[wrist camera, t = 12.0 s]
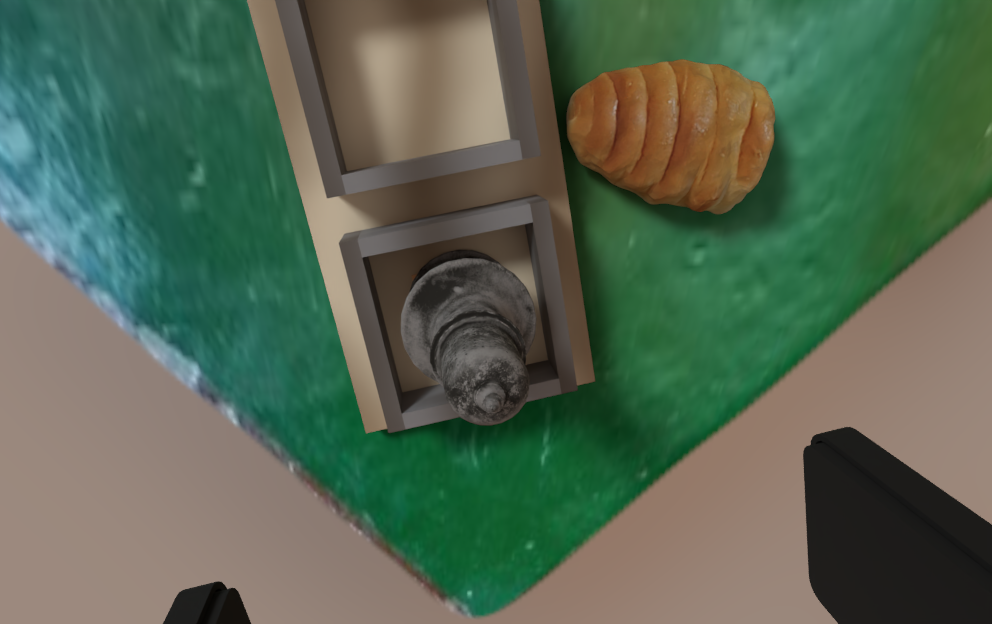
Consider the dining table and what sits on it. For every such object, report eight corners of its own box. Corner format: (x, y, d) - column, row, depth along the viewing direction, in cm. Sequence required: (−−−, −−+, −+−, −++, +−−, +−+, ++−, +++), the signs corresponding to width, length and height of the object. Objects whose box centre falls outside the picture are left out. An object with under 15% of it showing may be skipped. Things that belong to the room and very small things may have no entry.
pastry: (549, 186, 31) (568, 194, 28) (575, 41, 29) (598, 28, 26) (724, 214, 33) (763, 224, 29) (758, 77, 31) (804, 70, 27)
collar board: (519, -90, 27) (535, -122, 24) (589, 372, 34) (609, 401, 30) (240, -43, 27) (215, -68, 23) (367, 422, 33) (362, 457, 30)
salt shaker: (509, 368, 32) (564, 503, 20) (392, 351, 31) (382, 483, 19) (534, 254, 30) (608, 332, 19) (412, 233, 29) (413, 301, 18)
